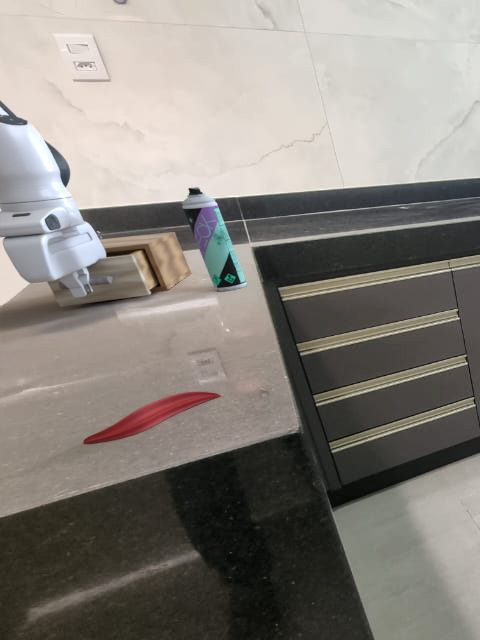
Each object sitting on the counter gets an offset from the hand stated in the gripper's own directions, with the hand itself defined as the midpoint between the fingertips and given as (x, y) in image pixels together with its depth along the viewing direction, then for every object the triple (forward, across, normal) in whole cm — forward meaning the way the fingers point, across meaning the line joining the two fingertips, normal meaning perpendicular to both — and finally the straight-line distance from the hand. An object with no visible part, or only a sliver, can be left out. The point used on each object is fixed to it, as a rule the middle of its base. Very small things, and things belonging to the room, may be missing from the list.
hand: (84, 295), depth 96 cm
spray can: (+4, -7, +20) cm, 22 cm away
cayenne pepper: (+4, +58, +27) cm, 64 cm away
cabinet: (+4, -21, 0) cm, 21 cm away
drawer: (+3, -11, 0) cm, 11 cm away
